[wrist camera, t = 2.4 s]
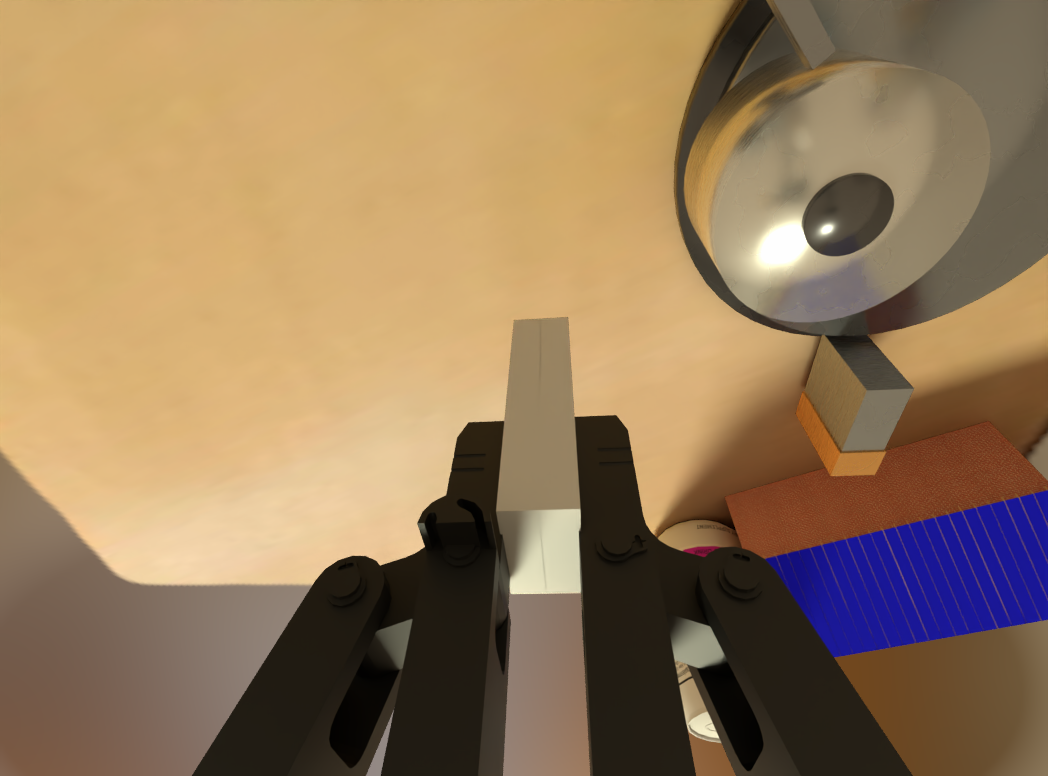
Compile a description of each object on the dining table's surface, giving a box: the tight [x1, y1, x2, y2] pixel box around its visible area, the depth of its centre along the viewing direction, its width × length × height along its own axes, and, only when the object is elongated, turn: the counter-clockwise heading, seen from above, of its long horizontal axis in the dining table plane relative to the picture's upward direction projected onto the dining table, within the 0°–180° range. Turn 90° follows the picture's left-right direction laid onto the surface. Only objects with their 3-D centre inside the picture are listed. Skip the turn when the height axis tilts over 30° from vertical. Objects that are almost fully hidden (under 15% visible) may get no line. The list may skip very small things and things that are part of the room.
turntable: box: [718, 0, 1048, 476], centre depth 26 cm, size 27×20×6 cm
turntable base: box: [674, 0, 822, 336], centre depth 27 cm, size 22×22×1 cm
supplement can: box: [658, 520, 742, 743], centre depth 43 cm, size 8×8×15 cm
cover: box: [684, 48, 991, 322], centre depth 23 cm, size 10×10×6 cm
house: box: [725, 421, 1048, 657], centre depth 40 cm, size 12×20×12 cm, turn 118°
